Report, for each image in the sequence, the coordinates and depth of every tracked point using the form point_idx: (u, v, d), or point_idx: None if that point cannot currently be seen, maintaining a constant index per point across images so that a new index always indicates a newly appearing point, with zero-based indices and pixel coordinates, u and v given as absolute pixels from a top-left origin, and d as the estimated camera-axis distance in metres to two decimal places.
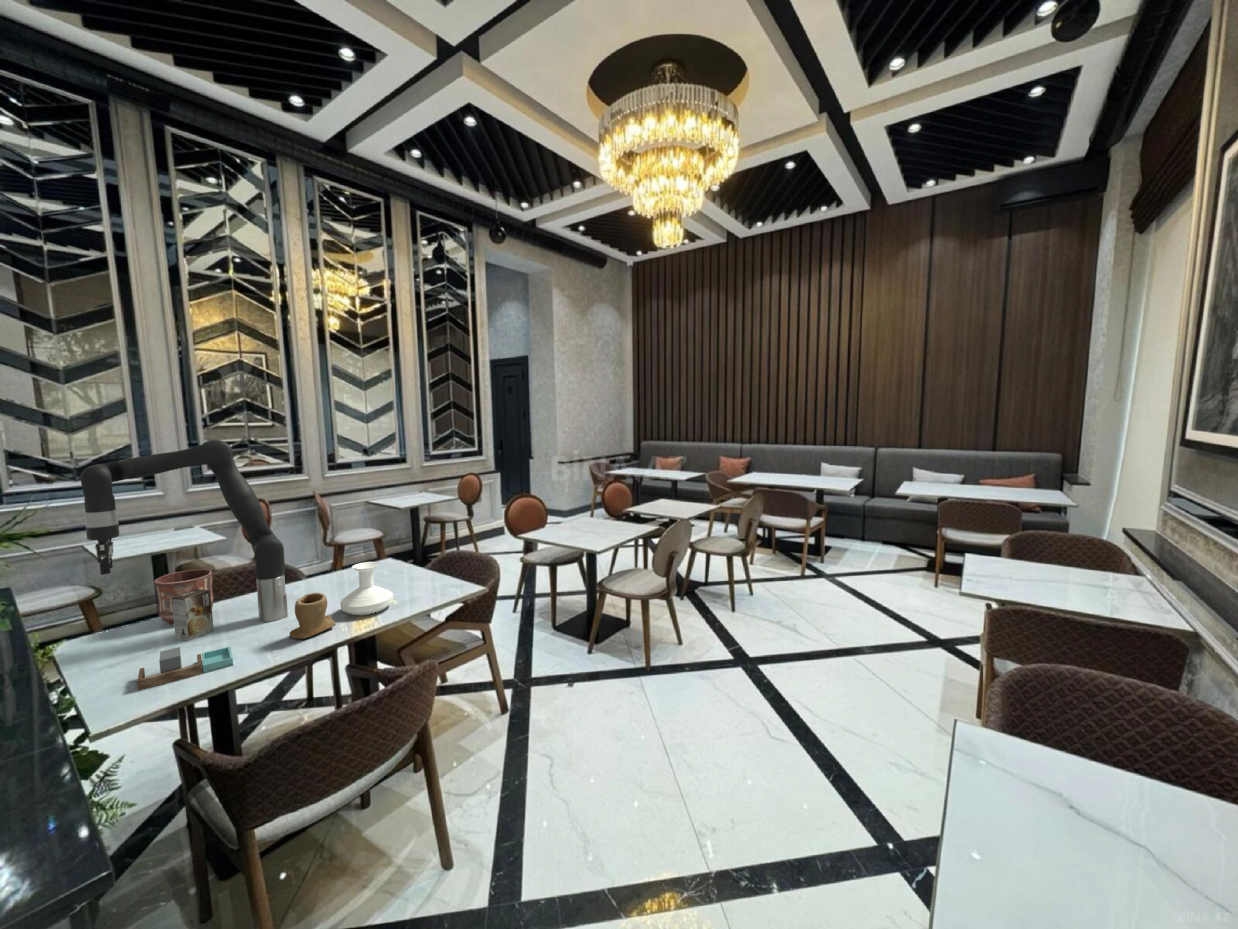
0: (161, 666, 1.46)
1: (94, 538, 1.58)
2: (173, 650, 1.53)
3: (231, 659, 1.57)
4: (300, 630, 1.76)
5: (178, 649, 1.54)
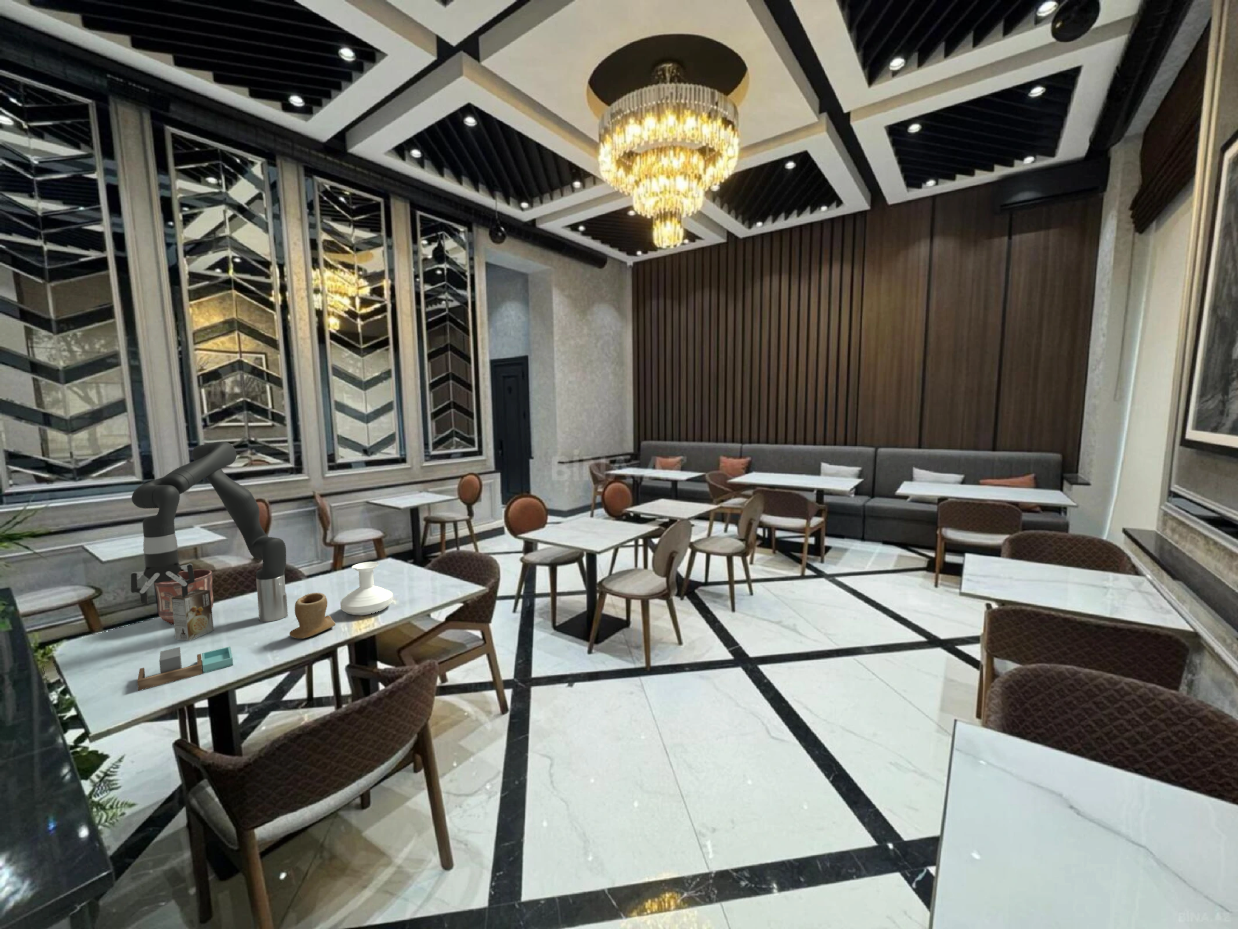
0: (161, 666, 1.46)
1: (176, 561, 1.49)
2: (173, 650, 1.53)
3: (231, 659, 1.57)
4: (300, 630, 1.76)
5: (178, 649, 1.54)
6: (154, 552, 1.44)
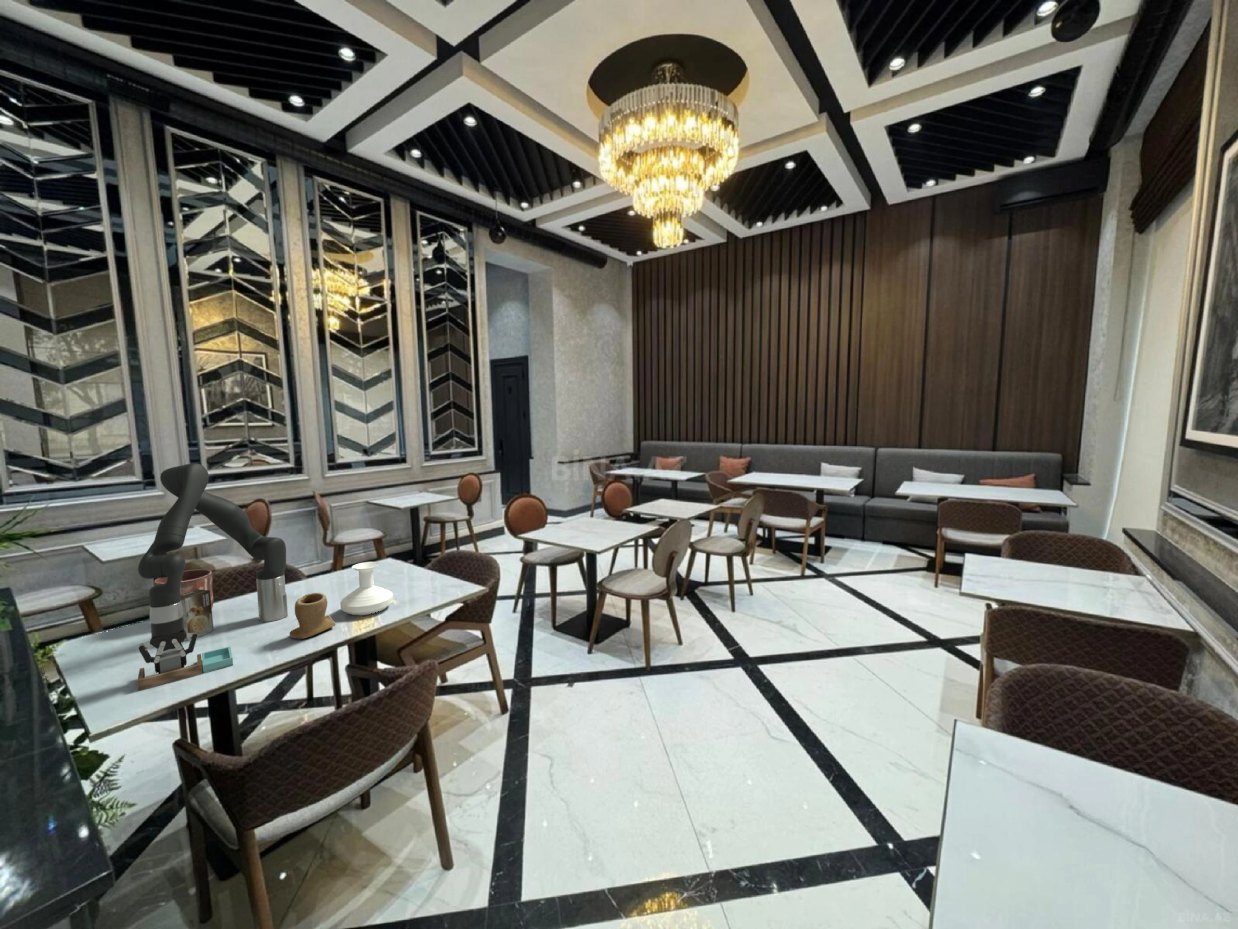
0: (161, 666, 1.46)
1: (182, 628, 1.51)
2: (173, 650, 1.53)
3: (231, 659, 1.57)
4: (300, 630, 1.76)
5: None
6: (160, 622, 1.46)
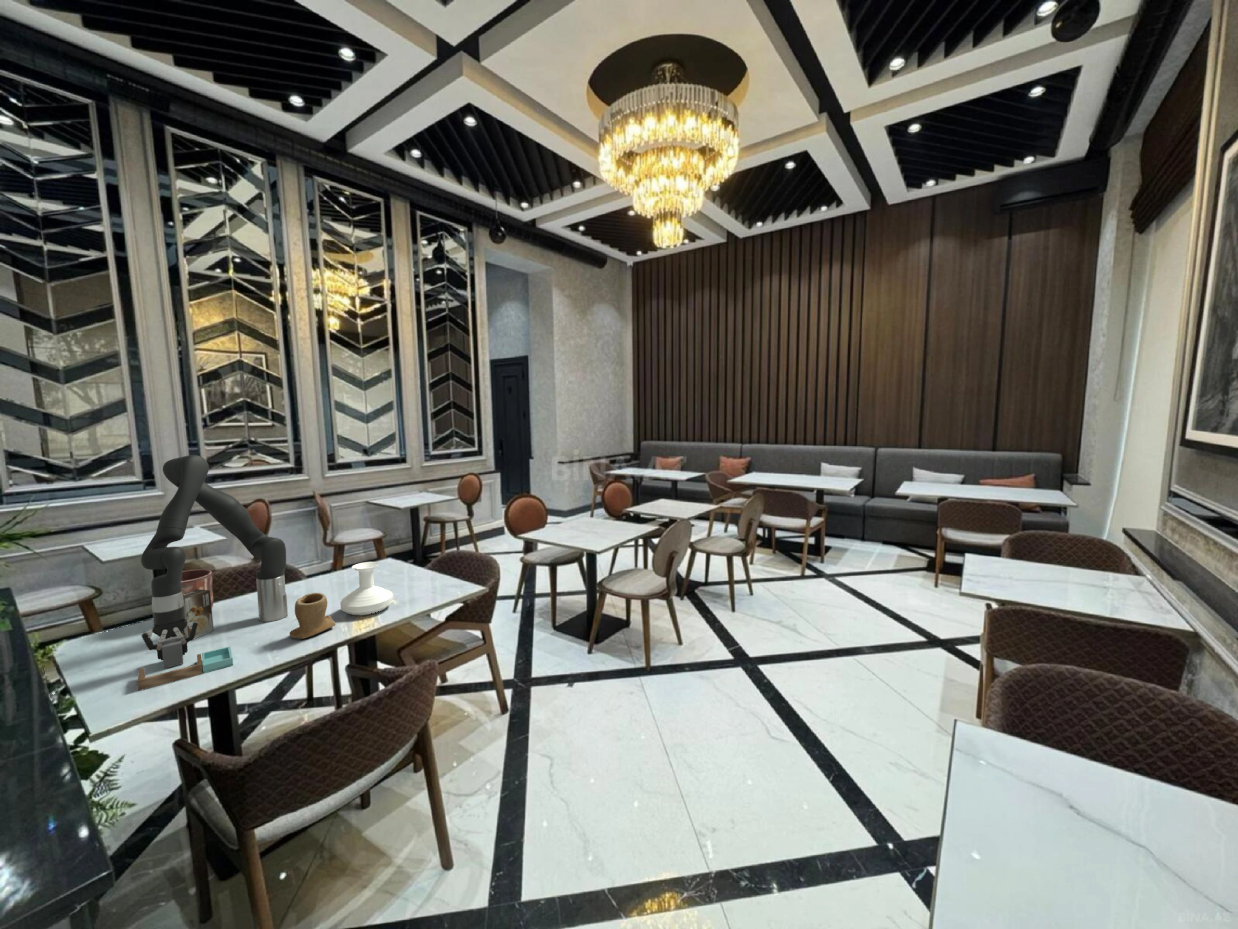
0: (163, 653, 1.54)
1: (183, 617, 1.58)
2: (175, 638, 1.60)
3: (231, 659, 1.57)
4: (300, 630, 1.76)
5: None
6: (162, 611, 1.54)
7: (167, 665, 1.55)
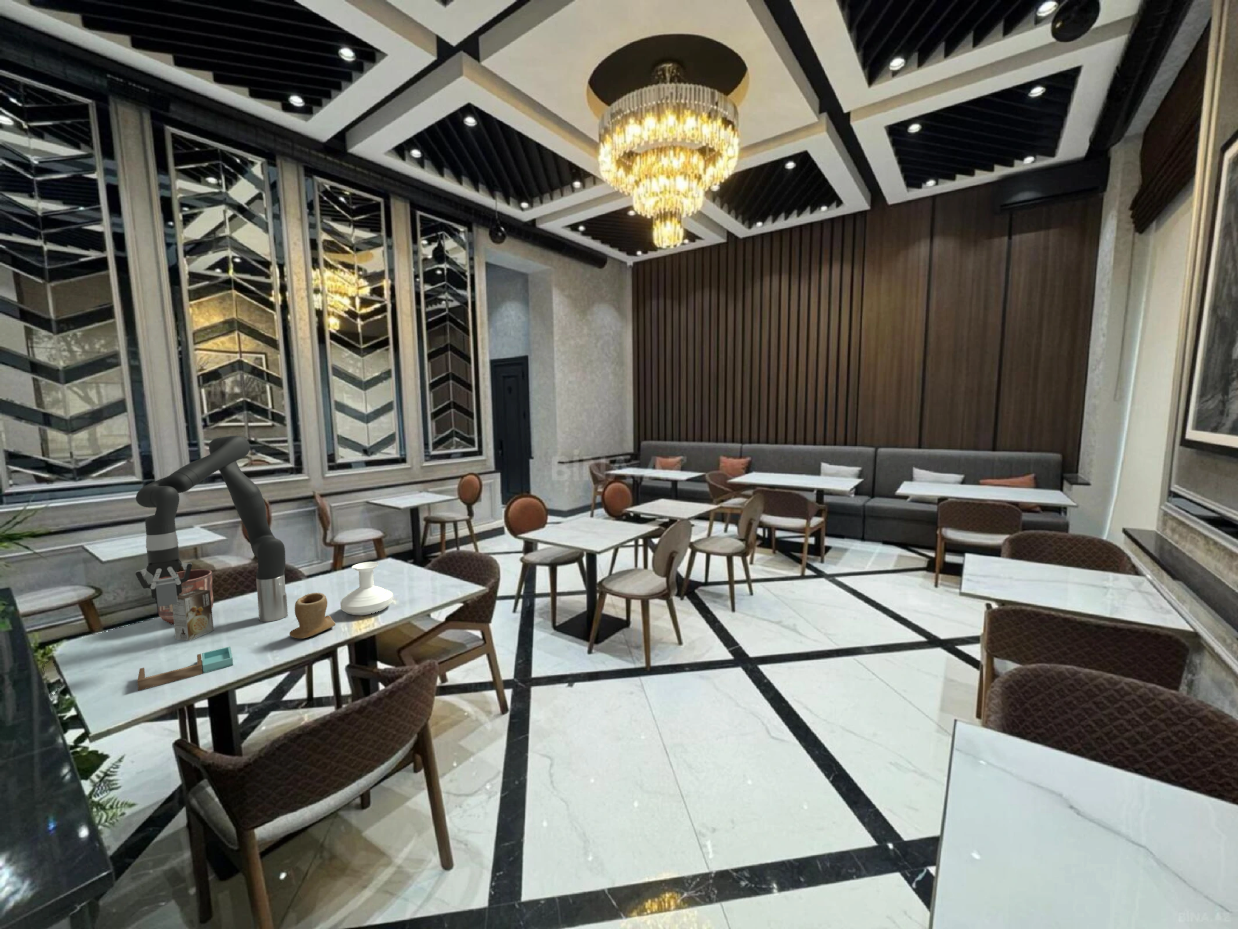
0: (157, 591, 1.54)
1: (177, 557, 1.58)
2: (169, 579, 1.60)
3: (231, 659, 1.57)
4: (300, 630, 1.76)
5: None
6: (156, 549, 1.53)
7: (161, 604, 1.54)
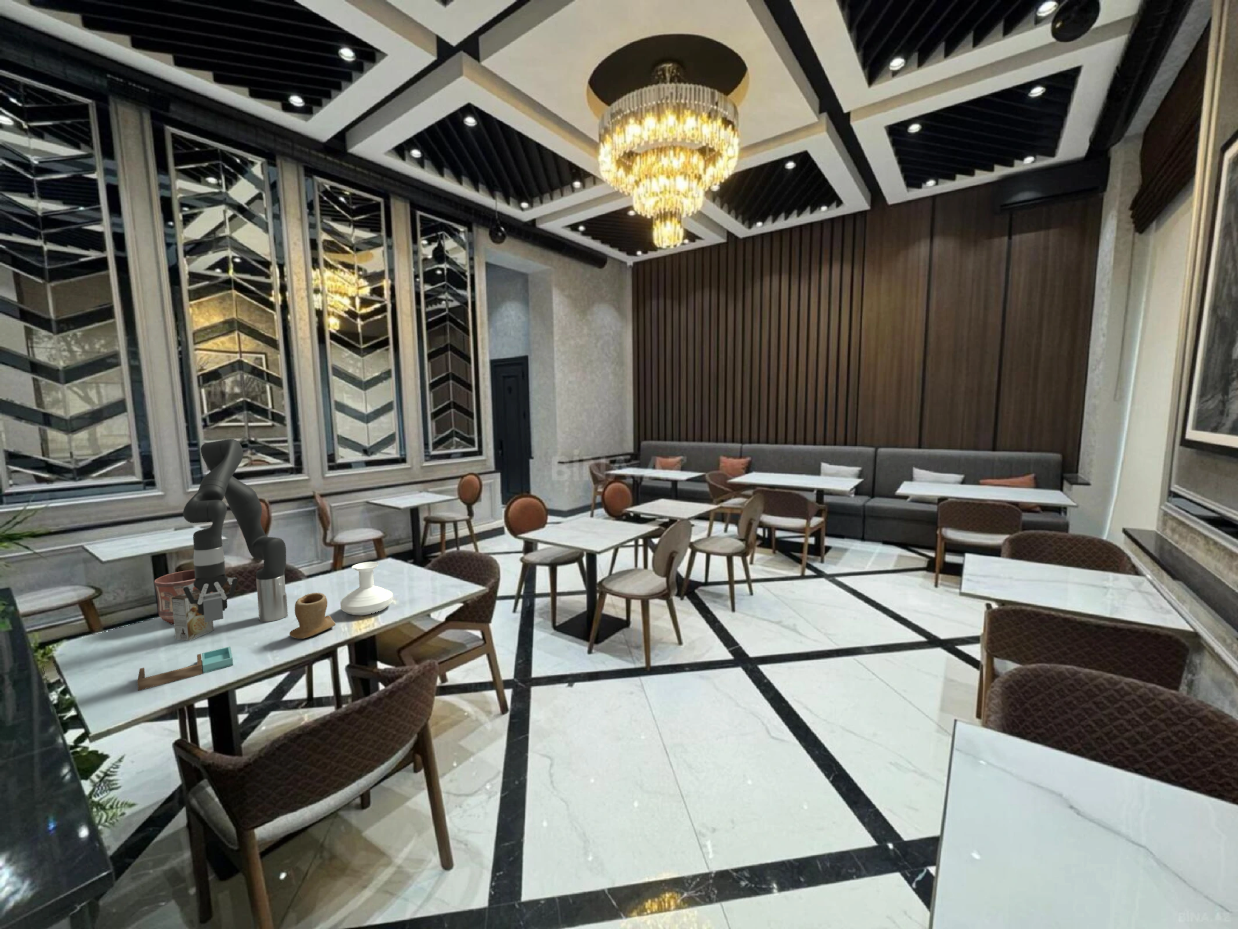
0: (204, 606, 1.52)
1: (223, 572, 1.57)
2: (214, 593, 1.59)
3: (231, 659, 1.57)
4: (300, 630, 1.76)
5: None
6: (204, 564, 1.52)
7: (208, 619, 1.53)
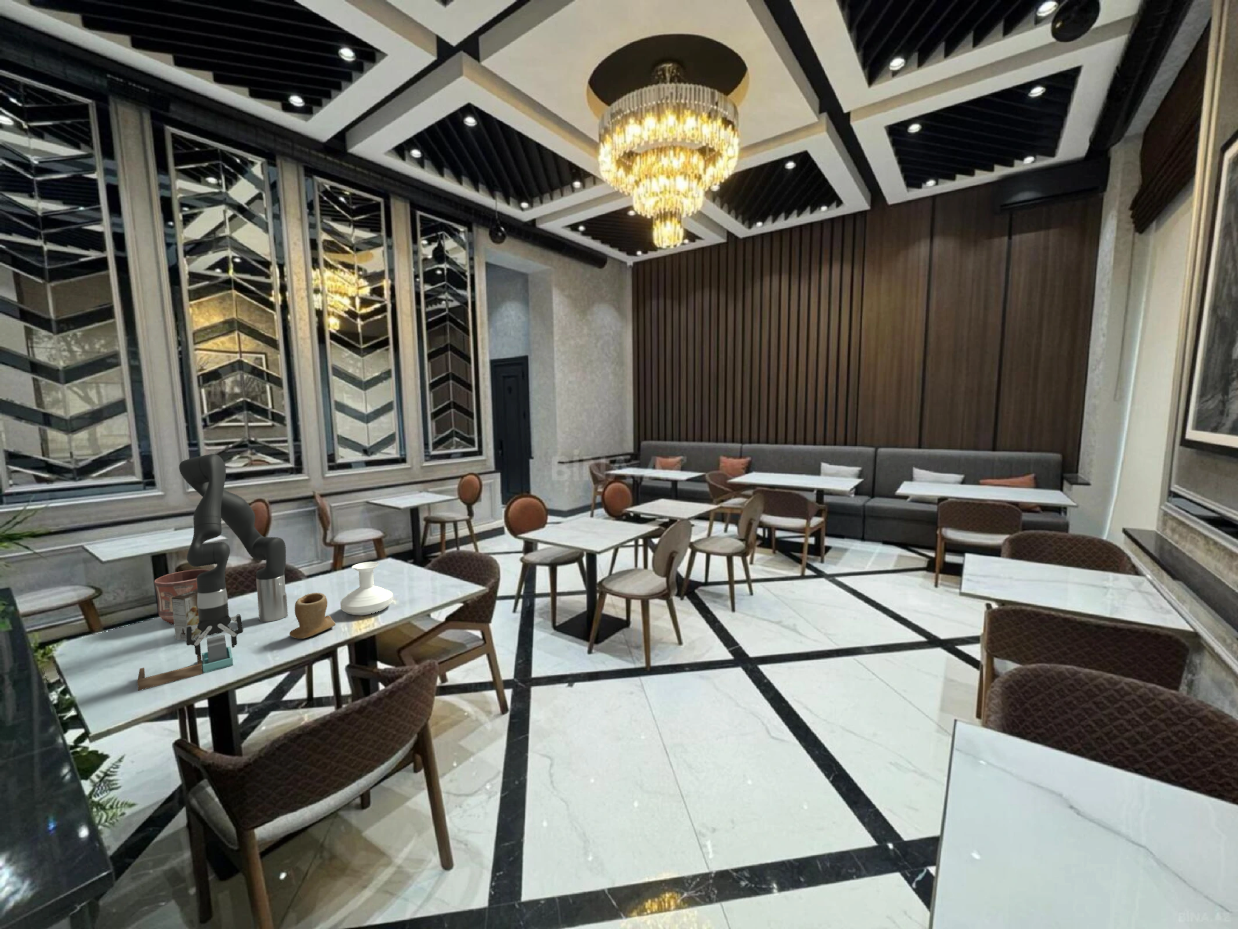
0: (209, 652, 1.54)
1: (227, 614, 1.58)
2: (219, 637, 1.60)
3: (231, 659, 1.57)
4: (300, 630, 1.76)
5: (223, 636, 1.61)
6: (208, 607, 1.53)
7: None
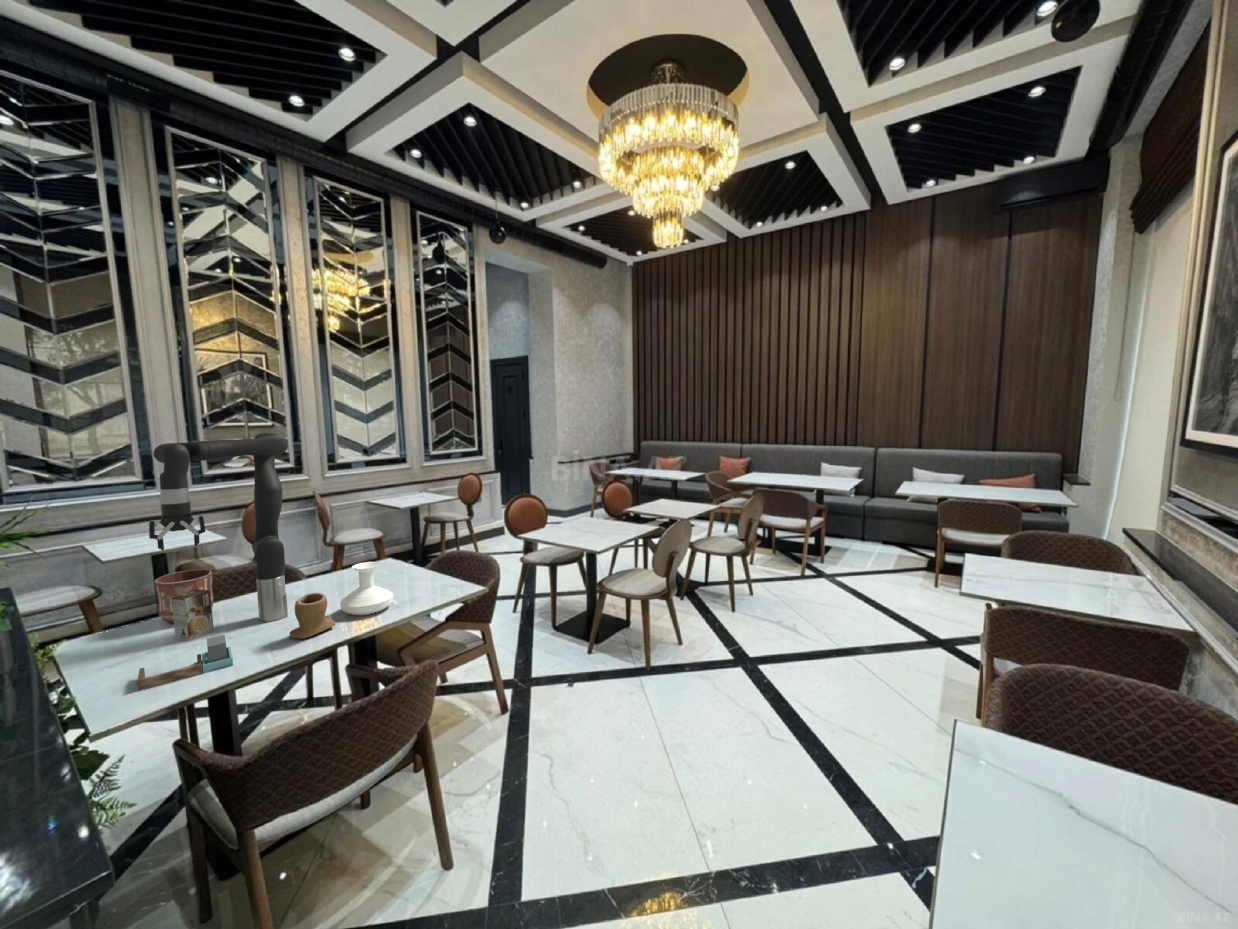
0: (209, 652, 1.54)
1: (189, 512, 1.66)
2: (219, 637, 1.60)
3: (231, 659, 1.57)
4: (300, 630, 1.76)
5: (223, 636, 1.61)
6: (170, 503, 1.61)
7: None
